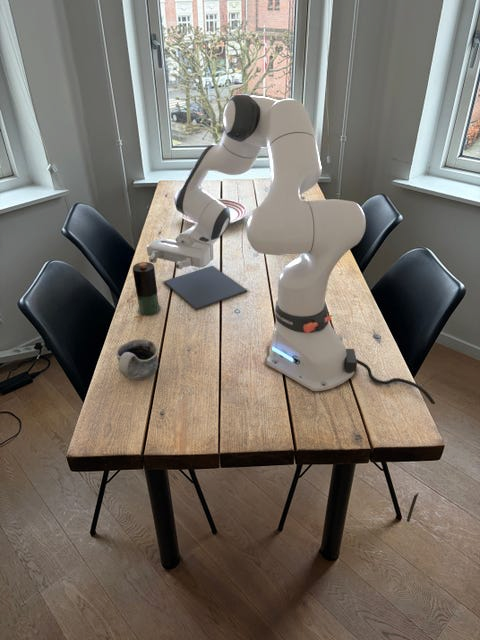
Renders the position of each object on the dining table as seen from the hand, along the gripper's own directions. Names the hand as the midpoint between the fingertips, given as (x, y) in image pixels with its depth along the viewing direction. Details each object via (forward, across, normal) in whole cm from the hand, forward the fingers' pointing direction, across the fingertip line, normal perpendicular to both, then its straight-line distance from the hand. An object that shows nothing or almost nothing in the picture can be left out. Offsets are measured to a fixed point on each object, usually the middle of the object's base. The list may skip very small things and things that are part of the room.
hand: (164, 263), depth 138 cm
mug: (+35, +16, +11) cm, 40 cm away
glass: (+10, 0, +11) cm, 14 cm away
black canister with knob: (+10, 0, +6) cm, 11 cm away
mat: (-9, +8, +11) cm, 16 cm away
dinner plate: (-61, -18, +11) cm, 64 cm away
